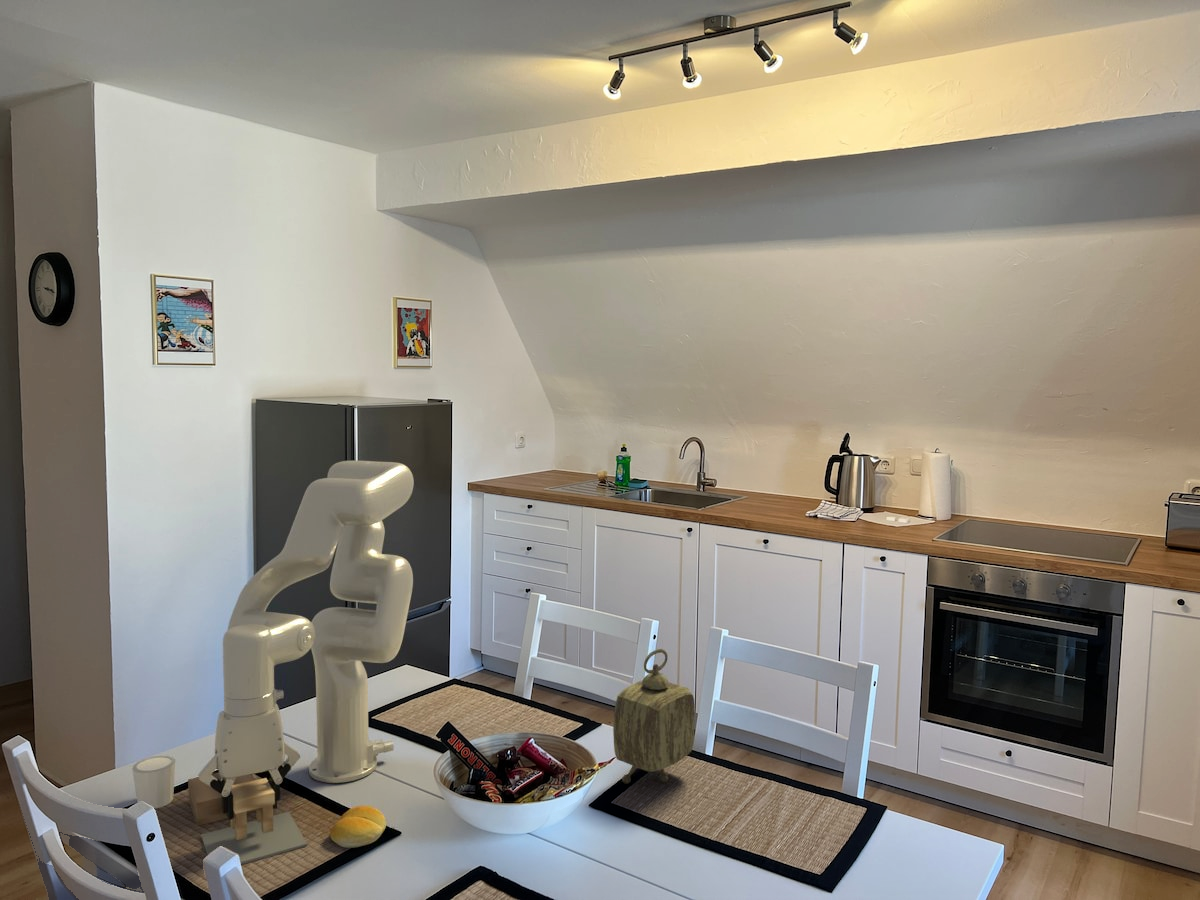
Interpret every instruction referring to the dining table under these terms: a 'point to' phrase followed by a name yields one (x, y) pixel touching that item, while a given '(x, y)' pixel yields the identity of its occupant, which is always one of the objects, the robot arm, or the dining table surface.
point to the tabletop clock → (653, 723)
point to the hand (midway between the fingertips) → (251, 809)
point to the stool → (252, 805)
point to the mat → (258, 839)
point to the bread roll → (358, 827)
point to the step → (209, 799)
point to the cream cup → (155, 780)
